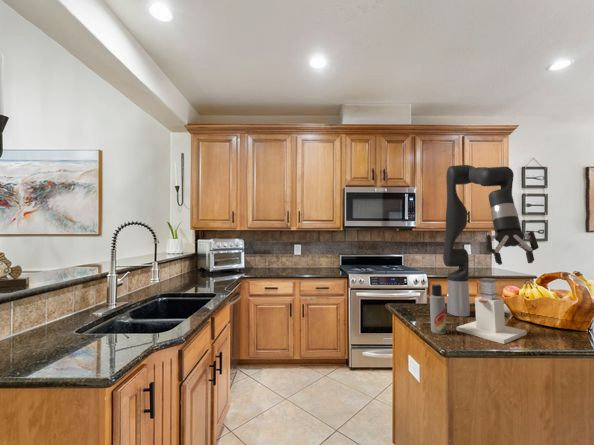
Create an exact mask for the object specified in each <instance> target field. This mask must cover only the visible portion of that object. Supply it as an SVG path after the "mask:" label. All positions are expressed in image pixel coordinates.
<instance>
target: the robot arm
mask: <svg viewBox="0 0 594 445" xmlns="http://www.w3.org/2000/svg"><path fill="white" fill-rule="evenodd" d="M514 176H515V175H514V172H513V170H512V168H511V167H509V166H495V167H493V166H491V167H487V166H484V167H483V166H482V167H481V166H480V167H479V166H478V167H475V166H472V165H469V164H462V165H450V166H449V167H448V168H447V171H446V175H445V179H446V211H445V236H444V245H443V246H444V247H443V255H442V258H443V261H442V262H443V264H444V266H445V267H449V268H453V267H454V268H455V267H456V268H457V270H455V271H453V272H449V273H448V274H447V290H448V292H447V294H446V310H447V311H446V312H447V314H449V315H452V316H454V317H455V316H456V317H469V316H471V309H470V308H471V307H470V306H471V305H470V286H469V283H470V282H469V275H470V274H469V273H470V272H469V271H470V270H469V260H470V258H469V252H468V250H467V249H465V248H454V245H455V243H456V240H457V239H458V238H459V236H460V235H461V233H462V232H463V231H464V229H466V226H467V224H468V210H467V208H466V206H465V205H464V203H463V202H462V200H461V199H460V196H458V191H457V185H458V186H459V185H469V184H471V183H472V184H475V185H480V186H481V187H500V189H496V190H493V191H491V192H489V193H488V201H489V206H490V215H491V220H492V221H491V222H492V224H493V229H494V235H490V234H487V235H486V236H485V246H486V252H487V253H488V254H493V256H494V260H495V263H496V264H497V265H499V266H500V265H503V261H502V256H501V255H502V254H501V252H500V251H501V249H502V248H503V247H505V248H508V247H512V248H513V247H517V246H518V247H519V248H521V249H522V250H523V251H524V252H525V256H526V261H527V264H532V263H533V262H534V261H535V257H534V252H533V251H536V250H538V249H539V248H540V247H539V245H538V242H537V241H538V240H537V238H536V235H535V232H534V231H529V232H523V230H522V226H521V223H520V219H519V213H518V210H517V207H516V205H515V201H514V197H513V185H514V184H513V182H514ZM524 237H525V238H526V239H527V240H528V242H529V244H528V243H527V242H526V241H524ZM494 240H495V241H496V242H498V243H497V245H496V247H495V248H493V243H492V242H493V241H494Z"/></svg>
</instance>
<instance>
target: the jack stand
mask: <svg viewBox="0 0 594 445" xmlns="http://www.w3.org/2000/svg"><path fill="white" fill-rule="evenodd" d="M504 300H505V299H504V298H501V297H497V299H496V300H487V299H481V296H476V297H474V308H475V320H474V321H470V322H468V323H465V324H461V325H458V326H456V331H457V332H461V333H464V334H467V335H468V334H469V335H471V336H476V337H477V338H478V337H479V338H481V339H485V340H488V341H492V342H496V343H499V344H503V345H505V344H507V343H510V342H513V341H515V340H517V339H520V338H522V337H525V336H526V335H528V333H527V332H528V331H527V330H525V329H521V328H518V327H512V326H507V325H506V322H505V306H504V305H505V303H504Z"/></svg>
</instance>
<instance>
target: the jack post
mask: <svg viewBox="0 0 594 445" xmlns="http://www.w3.org/2000/svg"><path fill="white" fill-rule="evenodd" d="M478 281H479V283H480V293H479V294H480V297H481V299H487V300H496V299H497V298H498V296H497V295H498V293H497V283H498V279H497V278H490V277H484V278H482V277H481V278H479V279H478Z"/></svg>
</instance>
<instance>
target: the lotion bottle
mask: <svg viewBox="0 0 594 445" xmlns="http://www.w3.org/2000/svg"><path fill="white" fill-rule="evenodd" d="M442 289H443V287H442V285H441V284H440V283H439V284H438V283H436V284H435V283H434V284H432V285H431V294H430V295H429V312H430V314H429V315H430V330H431V332H432V333H434V334H436V335H445V334H446V333H447V324H446V323H447V322H446V321H447V320H446V318H447V317H446V303H445V301H446V300H445V296H444V295H443V294H442V293H443V290H442Z"/></svg>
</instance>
